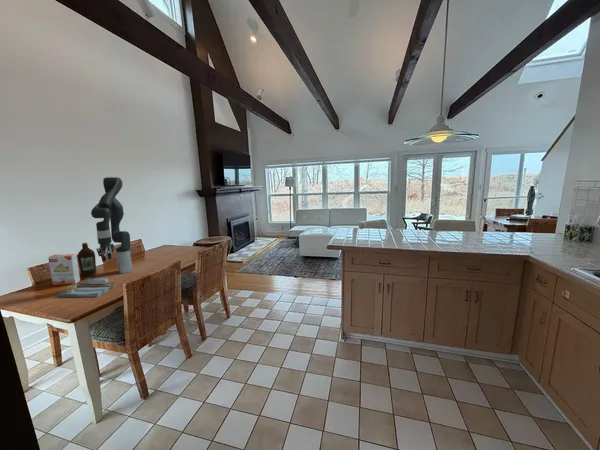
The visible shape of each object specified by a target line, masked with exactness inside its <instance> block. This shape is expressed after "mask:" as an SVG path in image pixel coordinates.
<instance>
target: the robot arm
mask: <svg viewBox="0 0 600 450" xmlns="http://www.w3.org/2000/svg"><path fill="white" fill-rule="evenodd" d="M102 183H103V189H104V192H105V193H104V194H103V195H101V197H100V199H99V202H98V203H97V204H96V205H95V206H94V207H93V208H92V209H91V211H90V214H91V217H92V218H94V219H102V220H101V221H98V222H96V223H95V224H96V236H97V237H96V239H97V244H98V245H99V248H96V253H97V255H98V257H101V260H102V262H104V263H105V262H107V259H108V260H112V257H113V256H112V254H113V253H114V249H115V247H114V246H115V243H117V244H118V243H119V244H121V245H120V246H118V247H116V249H115V252H116V253H115V255H116V262H117V263H116V264H117V271H118V273H119V274H126V273H130V272H132V271H133V261H132V260H133V259H132V254H131V234H130V233H129V232H128V231H125V230H122V231H120V225H121V221H122V220H123V218H124V215H125V213H124V206H123V204H122V203H121V202H120V201H119V200H118V199H117V198H116V196H117V195H118V194H119V192H120V191H121V190H122V188H123V180H122V179H121V178H120V177H116V176H115V177H113V176H109V177H108V176H107V177H104V178H103V180H102ZM112 242H113V243H112ZM106 254H107V255H106Z"/></svg>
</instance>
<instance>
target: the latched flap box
mask: <svg viewBox="0 0 600 450" xmlns="http://www.w3.org/2000/svg"><path fill="white" fill-rule="evenodd" d="M116 283H117V282H116V281H109V282H108V283H107V284H86V282H81V281H80V282H78V283H76V284H69V285H67V286H66V288H65V289H66V290H64V291H62V292H60V293H58V294H57V297H58V298H93V297H94V298H95V297H96V298H98V297H100V296H102V295H103V294H105V293H107V292H108V291H110V290H112V289H114V288H115V287H116V286H117V284H116Z"/></svg>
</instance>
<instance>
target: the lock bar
mask: <svg viewBox="0 0 600 450" xmlns="http://www.w3.org/2000/svg"><path fill="white" fill-rule="evenodd" d="M109 280H110V279H109V277H107V278H106V277H105V278H104V277H103V278H102V277H100V278H94V277H92V278H90V277H86V278H85V280H84V281H85V282H86V284H107V283H108V282H110V281H109Z"/></svg>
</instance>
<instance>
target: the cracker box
mask: <svg viewBox="0 0 600 450" xmlns="http://www.w3.org/2000/svg"><path fill="white" fill-rule="evenodd" d="M77 255H78V254H76V253H75V254H73V253H72V254H53V255H50V256H48V258H47V259H48V264H49V269H50V270H49V271H50V277H51V282H52V286H62V285H67V286H68V285H75V284H77V283H80V282H81V275H80V268H79V262H78V257H77Z"/></svg>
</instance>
